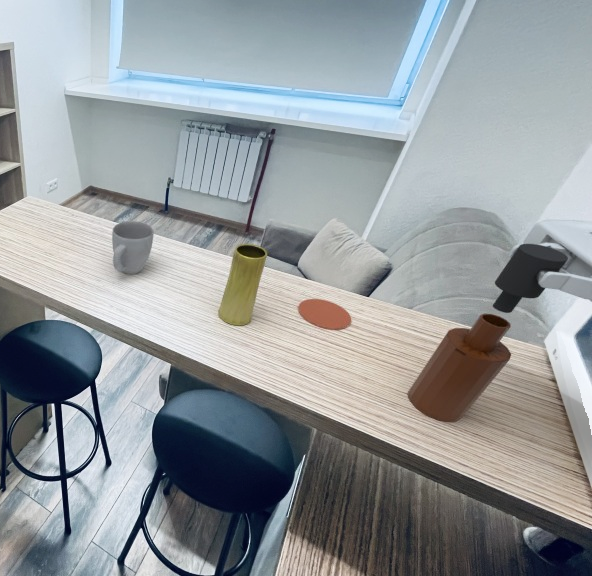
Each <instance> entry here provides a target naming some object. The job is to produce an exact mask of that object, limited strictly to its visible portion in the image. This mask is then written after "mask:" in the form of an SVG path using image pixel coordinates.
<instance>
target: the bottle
mask: <svg viewBox="0 0 592 576" xmlns="http://www.w3.org/2000/svg"><path fill="white" fill-rule="evenodd" d="M511 327H512V326H511V322H509V320H507V319H505V318H503V317H502V316H499V315H496V314H493V313H481V314H480V315H479V316H478V317H477V319H476V320H475V322H474V323H473V324H472V326H471V327H470V328H467V327H454V328H451V329H449V330H448V331H447V332H446V334H445V335H444V337H443V338H442V340H441V341H440V342H439V344H438V346H437V347H436V349H435V350H434V352H433V353H432V354H431V356H430V357H429V359H428V361H427V362H426V364H425V365H424V366H423V368H422V370H421V371H420V373H419V374H418V375H417V377H416V379H415V381H414V382H413V384H411V387H410V388H409V390H408V392H407V397H408V400H409V402H410V403H411V404H412V406H413V407H414V408H416V410H418V411H419V412H421V414H424V415H425V416H426V417H427V416H428V417H429V418H432V419H434V420H436V421H440V422H444V423H454V422H458V421H459V420H460V419H462V418H463V417H464V416H465V415H466V413H467V412H469V410H470V408H471V407H472V406H474V404H475V402H477V400H478V399H479V398H480V396H481V395H482V394H483V393H484V392H485V390H486V389H487V388H488V386H490V384H491V383H492V382H493V381H494V379H496V377H497V376H498V375H499V373H500V372H501V371H502V369H503V368H504V367H505V366H506V365H507V363H509V361H510V360H511V358H512V353H511V351H510V350H509V348H508V347H507V346H506V345H505V344H504V343H503V342H502V341H501V340H502V339H503V338H504V336H505V335H506V334H507V333H508V331H509V330H510V329H511Z"/></svg>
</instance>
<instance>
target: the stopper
mask: <svg viewBox="0 0 592 576" xmlns="http://www.w3.org/2000/svg"><path fill="white" fill-rule="evenodd" d="M519 245H520V246H519V247H518V249H517V250H516V252H515V253H514V254H513V256H512V257H511V258H509V260H508V261H507V263H506V265H504V268H502V271H501V272H500V274H499V275H498V276H497V278H496V279H495V280H494V285H495V287H496V288H498V289H499V290H501V293H500V294H499V296H498V297H497V298H496V300H495V301H494V302H493V303H492V308H494V309H495V310H496V311H498V312H500V313H505V314H511V313H512V312H513V311H514V310H515V308H516V307H517V306H518V304H519V303H520V302H521V301H522V299H537V298H539V297H540V296H541V295H542V293H543V292H544V291H545V289H546V288H543V287H541V286H540V285H539V284H538V283H537V282H536V281H535V280H534V276H535V275H537V273H538V271H539V270H540V269H542V268H551V269H553V268H556V269H561V268H562V266H563V265H564V264H565V263H566V261H567V260H568V257H567V256H566V255H565V254H564V253H562V252H560V251H558V250H555V249H553V248H550V247H546V246H542V245H537V244H523V243H522V244H519Z"/></svg>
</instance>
